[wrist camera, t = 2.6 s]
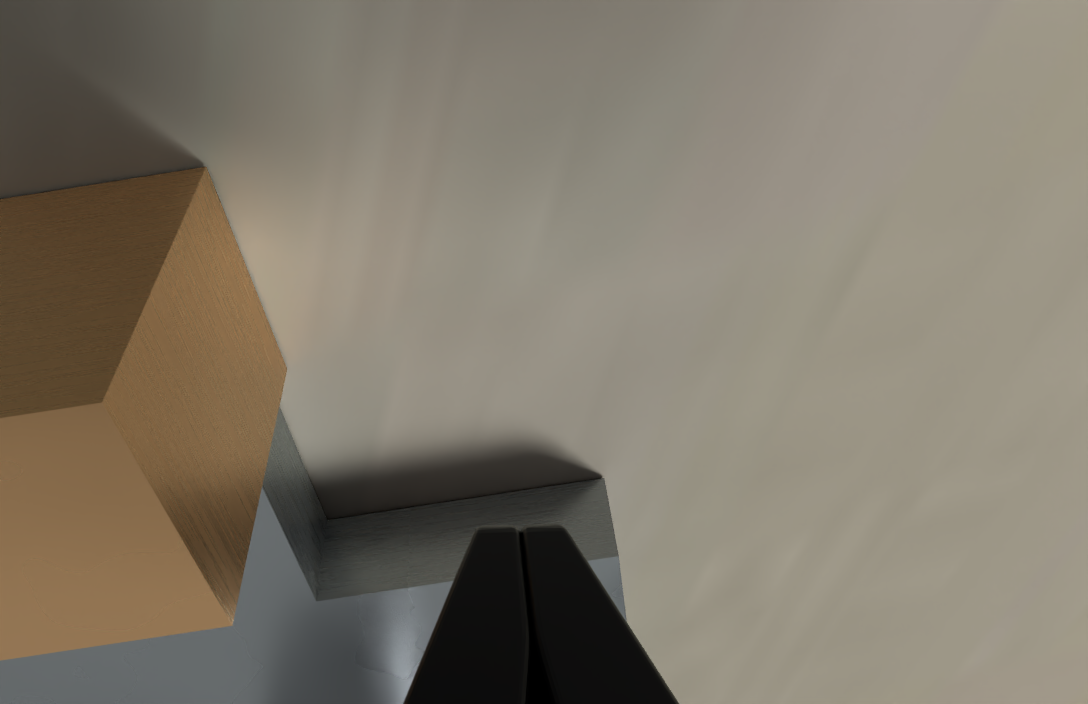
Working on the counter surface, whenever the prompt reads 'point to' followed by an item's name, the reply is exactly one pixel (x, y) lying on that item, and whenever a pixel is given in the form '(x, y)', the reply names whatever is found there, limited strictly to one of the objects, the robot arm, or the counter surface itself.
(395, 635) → the flange plate
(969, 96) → the counter surface
